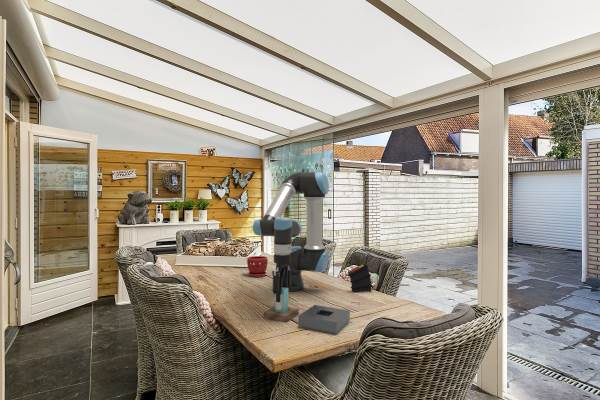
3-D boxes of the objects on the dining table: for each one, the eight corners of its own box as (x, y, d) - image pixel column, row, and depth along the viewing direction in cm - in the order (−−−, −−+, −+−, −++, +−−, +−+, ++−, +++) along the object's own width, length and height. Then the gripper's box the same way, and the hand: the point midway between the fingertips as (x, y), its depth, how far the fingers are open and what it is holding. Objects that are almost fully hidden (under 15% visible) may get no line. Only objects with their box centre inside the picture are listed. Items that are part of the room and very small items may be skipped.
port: (298, 327, 143) (298, 315, 142) (314, 315, 157) (314, 304, 157) (336, 334, 136) (336, 322, 135) (349, 321, 150) (349, 310, 150)
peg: (275, 316, 154) (275, 288, 154) (279, 314, 158) (280, 286, 157) (283, 318, 152) (283, 290, 152) (287, 315, 156) (288, 288, 156)
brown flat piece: (263, 317, 152) (264, 311, 152) (276, 310, 162) (276, 305, 162) (286, 322, 148) (286, 316, 148) (298, 314, 158) (298, 308, 157)
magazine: (377, 288, 198) (367, 264, 196) (357, 299, 195) (346, 275, 193) (373, 286, 202) (363, 262, 200) (354, 297, 199) (344, 273, 197)
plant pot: (271, 275, 233) (271, 256, 233) (258, 279, 222) (258, 259, 222) (255, 272, 240) (256, 254, 240) (242, 276, 229) (242, 257, 229)
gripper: (280, 257, 145) (279, 315, 146) (299, 251, 161) (298, 303, 161) (264, 255, 149) (263, 312, 149) (284, 250, 164) (283, 301, 164)
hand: (281, 307), depth 155 cm, fingers closed on peg, 4 cm apart
